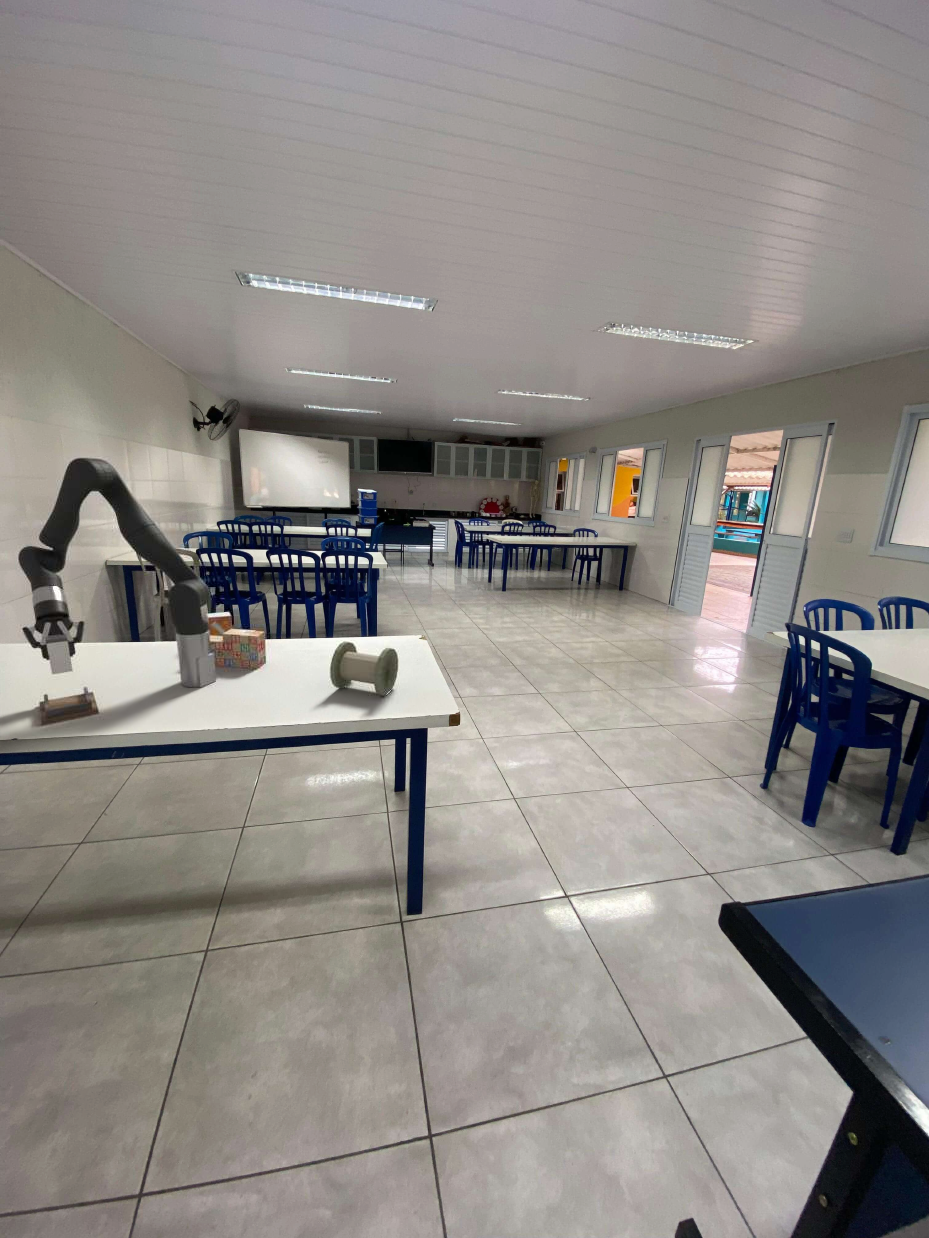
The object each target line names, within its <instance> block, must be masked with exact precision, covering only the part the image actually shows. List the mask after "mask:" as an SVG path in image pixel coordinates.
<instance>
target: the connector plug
mask: <svg viewBox="0 0 929 1238" xmlns="http://www.w3.org/2000/svg"><path fill="white" fill-rule="evenodd" d="M45 638H46V644H47V650H48V654H49V660H48V661H49V666H50V671H51V675H58V674H64V673H69V672H73V670H74V669H73V663H72V660H71V658H72V657H70V654H69V646H68V640H67V635H66V634H65V635H64V634H57V635H49V636H48V637H45Z"/></svg>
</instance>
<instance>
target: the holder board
mask: <svg viewBox="0 0 929 1238" xmlns="http://www.w3.org/2000/svg"><path fill="white" fill-rule="evenodd" d="M38 705H39V716H40V724H41V726H44V725H51V724H55V723H59V722H63V721H69V720H73V719H78V718H83V717H88V716H92V715H97V714H100V711H99V706H98V704H97V701H96V697H95V694H94V692H93V691H91V692H89V690H88V686H85V687H83V693H80V694H73V695H69V696H64V697H59V698H53V699H49V695H48V694H47V693H46V694H43V700H41V701H39V702H38Z"/></svg>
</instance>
